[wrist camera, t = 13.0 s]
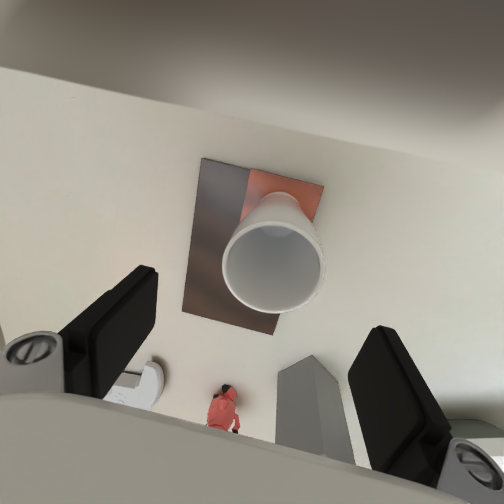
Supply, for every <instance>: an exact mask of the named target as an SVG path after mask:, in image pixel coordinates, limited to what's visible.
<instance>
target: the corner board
mask: <svg viewBox="0 0 504 504" xmlns="http://www.w3.org/2000/svg"><path fill="white" fill-rule="evenodd" d="M323 189H324V186H320V185H316V184H312V183H308V182H304V181H300V180H296V179H292V178H288V177H284V176H279V175H275V174H271V173H267V172H263V171H259V170H255V169H247V168H242V167H238V166H234V165H230V164H226V163H222V162H218V161H214V160H210V159H206V158H202V159H201V166H200V173H199V181H198V189H197V197H196V204H195V212H194V220H193V228H192V235H191V243H190V251H189V259H188V266H187V274H186V282H185V290H184V297H183V305H182V312H186V313H190V314H194V315H197V316H201V317H205V318H209V319H213V320H216V321H220V322H224V323H228V324H231V325H235V326H239V327H243V328H246V329H250V330H254V331H258V332H262V333H265V334H269V335H273V333H274V330H275V327H276V324H277V321H278V318H279V315H280V313H265V312H260V311H257V310H254V309H252V308H250V307H248V306H246V305H244V304H243V303H241V302H240V301H239V300H238V299H237V298H236V297H235V296H234V295H233V294H232V293H231V291H230V290H229V288H228V287H227V285H226V283H225V280H224V277H223V272H222V259H223V254H224V251H225V249H226V247H227V245H228V242H229V240H230V238H231V236H232V234H233V232H234V231H235V229H236V227H237V226H238V225H239V223H240V222H241V221H242V219H243V218H244V217H245V216H246V215H247V214H248V213H249V212H250V211H251V210H252V209H254V208H255V207H256V206H257V205H258V203H259V202H260V200H261V199H262V198H263V197H265V196H266V195H268V194H270V193H273V192H286V193H288V194H290V195H292V196H293V197H295V198H296V199H297V201H298V202H299V204H300V206H301V209H302V210H303V212H304V213H305V214H306V216H307V217H308V219H309V220H310V222H311V223H312V222H313V219H314V216H315V213H316V210H317V207H318V204H319V201H320V198H321V195H322V192H323Z"/></svg>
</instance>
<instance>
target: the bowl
mask: <svg viewBox="0 0 504 504" xmlns="http://www.w3.org/2000/svg"><path fill="white" fill-rule="evenodd" d="M448 422H449V424H450V425H451V427H452V429H451V430H450V433H451V435H452V437H453V438H456V437H458V438H464V439H466V440H468V441H470V442H472V443H474V444H475V445H477V446H479V447H480V448H481V449H483V450H484V451H485V452H486V453H487V454H488V455H490V457H491V458H492V459H493V460H494V461H495V462H496V463H497V464H498V465H499V467H500V468H501V470H502V471H503V472H504V430H503V429H500V428H498V427H496V426H494V425H491V424H489V423H487V422H484V421H478V420H448Z"/></svg>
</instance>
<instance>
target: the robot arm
mask: <svg viewBox="0 0 504 504" xmlns="http://www.w3.org/2000/svg"><path fill="white" fill-rule="evenodd" d="M157 289H158V273H157V272H155V269H154V268H152V267H148V266H144V265H139V266H138V267H137V268H136V269H135V270H133V271H132V272H131V273H130V274H129V275H128V276H126V277H125V278H124V279H123V280H122V281H121V282H119V283H118V284H117V285H116V286H115V287H114V288H113V289H111V290H108V291H107V292H105V293H104V294H103V295H102V296H101V297H99V298H98V299H97V300H96V301H95V302H94V303H92V304H91V305H90V306H89V307H88V308H87V309H85V310H84V311H83V312H82V313H81V314H80V315H78V316H77V317H76V318H75V319H74V320H72V321H71V322H70V323H69V324H68V325H67V326H65V327H64V328H63V329H62V330H61V331H60V332H58V333H55V332H52V331H37V332H32V333H28V334H25V335H22V336H20V337H18V338H16V339H14V340H13V341H11V342H10V343H8V344H7V345H6V346H5V347H4V348H3V349H2V350H1V353H0V504H504V472H503V471H502V470H501V468H500V467H499V465H498V464H497V463H496V462H495V461H494V460H493V459H492V458H491V457H490V455H488V454H487V453H486V452H485V451H484V450H483V449H481V448H480V447H479V446H477V445H475V444H474V443H472V442H470V441H468V440H466V439H464V438H458V437H456V438H453V437H452V435H451V433H450V430H451V429H452V427H451V425H450V424H449V422H448V420H447V419H446V417H445V415H444V413H443V412H442V410H441V408H440V407H439V405H438V403H437V401H436V400H435V398H434V396H433V394H432V393H431V391H430V389H429V388H428V386H427V384H426V382H425V381H424V379H423V377H422V376H421V374H420V372H419V370H418V369H417V367H416V365H415V363H414V362H413V360H412V358H411V357H410V355H409V353H408V351H407V350H406V348H405V346H404V345H403V343H402V341H401V339H400V338H399V336H398V334H397V332H396V331H395V330H394V329H392V328H388V327H384V326H381V325H379V326H377V327H376V328H372V330H371V331H370V333H369V335H368V337H367V339H366V340H365V342H364V344H363V346H362V348H361V350H360V351H359V353H358V355H357V357H356V359H355V361H354V362H353V364H352V366H351V368H350V370H349V372H348V381H349V385H350V389H351V393H352V396H353V400H354V404H355V408H356V412H357V415H358V419H359V423H360V427H361V430H362V434H363V438H364V442H365V446H366V449H367V453H368V457H369V461H370V464H371V468H372V470H371V469H367V468H364V467H360V466H356V465H352V464H349V463H345V462H341V461H338V460H334V459H330V458H327V457H323V456H319V455H315V454H312V453H308V452H304V451H301V450H297V449H293V448H289V447H285V446H282V445H278V444H274V443H270V442H267V441H263V440H259V439H255V438H251V437H248V436H244V435H240V434H236V433H232V432H229V431H225V430H221V429H217V428H213V427H209V426H206V425H202V424H198V423H194V422H190V421H186V420H182V419H178V418H174V417H171V416H167V415H163V414H159V413H155V412H151V411H147V410H143V409H139V408H135V407H131V406H127V405H122V404H118V403H114V402H110V401H106V400H102V399H103V398H104V397H105V396H106V395H107V393H108V392H109V390H110V389H111V388H112V386H113V385H114V383H115V382H116V380H117V379H118V378H119V376H120V375H121V373H122V372H123V370H124V369H125V368H126V366H127V365H128V363H129V362H130V360H131V359H132V358H133V356H134V355H135V353H136V352H137V350H138V349H139V348H140V346H141V345H142V343H143V342H144V340H145V339H146V337H147V336H148V335H149V333H150V332H151V330H152V329H153V327H154V324H155V318H156V303H157Z"/></svg>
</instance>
